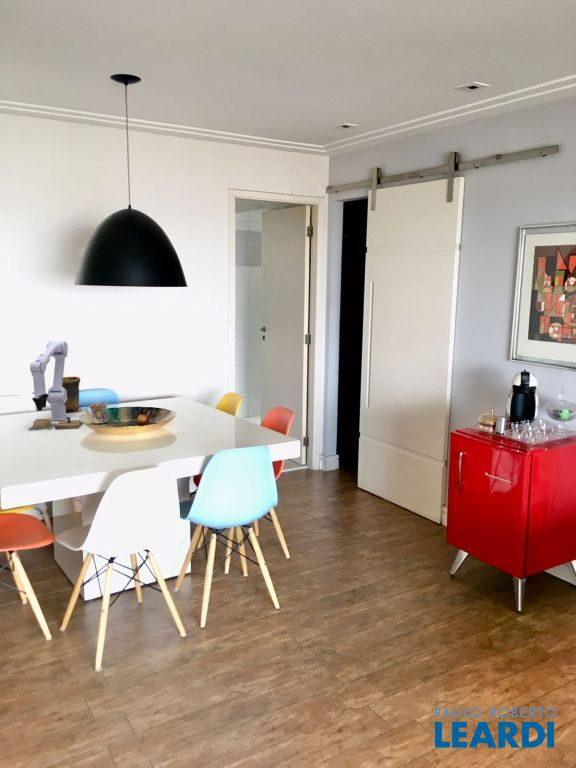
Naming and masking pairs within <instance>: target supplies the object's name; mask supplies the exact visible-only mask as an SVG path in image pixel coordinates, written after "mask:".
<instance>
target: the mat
mask: <svg viewBox="0 0 576 768" xmlns="http://www.w3.org/2000/svg"><path fill="white" fill-rule="evenodd" d="M57 423H58V422H57ZM57 423H55V422H54V423H52V425H51V426H50V427H44V428H34V426H33V425H32V426H31V427H30V428H28V429H27V431H40V430H41V429H47V430H53V429H55V425H56V424H57ZM39 429H40V430H39ZM41 431H42V430H41Z"/></svg>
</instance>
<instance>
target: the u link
mask: <svg viewBox="0 0 576 768" xmlns="http://www.w3.org/2000/svg"><path fill="white" fill-rule="evenodd" d="M51 419H52V418H36V419H34V420H33V422H32V426H34V428H44V427H50V426H51V425H52V424H53V423H52V422H53V421H51Z"/></svg>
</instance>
